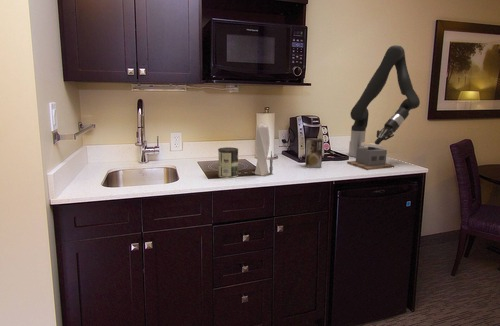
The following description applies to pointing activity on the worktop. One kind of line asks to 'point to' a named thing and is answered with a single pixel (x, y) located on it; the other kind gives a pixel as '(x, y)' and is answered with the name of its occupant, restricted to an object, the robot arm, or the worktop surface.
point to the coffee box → (313, 152)
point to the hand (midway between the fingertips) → (376, 143)
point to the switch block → (371, 156)
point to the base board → (369, 166)
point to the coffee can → (228, 162)
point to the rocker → (371, 145)
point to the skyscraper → (262, 150)
